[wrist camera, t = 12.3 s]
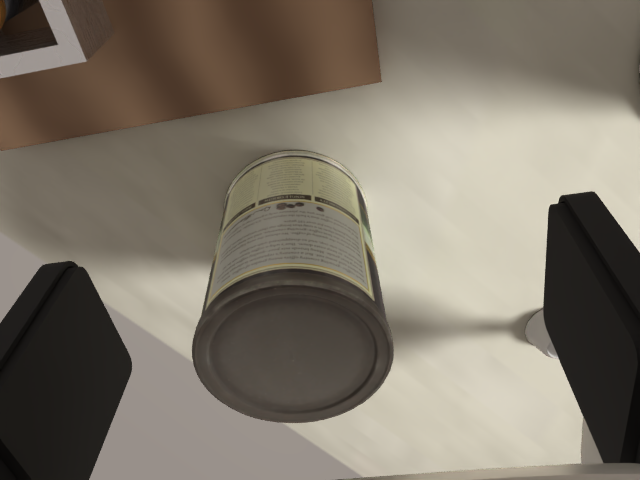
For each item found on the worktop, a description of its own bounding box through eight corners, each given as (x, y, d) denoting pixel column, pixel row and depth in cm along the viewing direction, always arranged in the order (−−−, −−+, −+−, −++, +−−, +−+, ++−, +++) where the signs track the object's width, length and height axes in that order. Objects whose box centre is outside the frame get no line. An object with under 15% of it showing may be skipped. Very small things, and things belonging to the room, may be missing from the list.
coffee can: (395, 227, 42) (430, 375, 30) (281, 291, 45) (273, 447, 33) (313, 118, 37) (318, 245, 25) (192, 198, 40) (147, 344, 28)
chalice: (522, 294, 46) (626, 511, 31) (607, 291, 46) (752, 506, 31) (508, 359, 50) (594, 577, 35) (586, 356, 50) (705, 572, 35)
